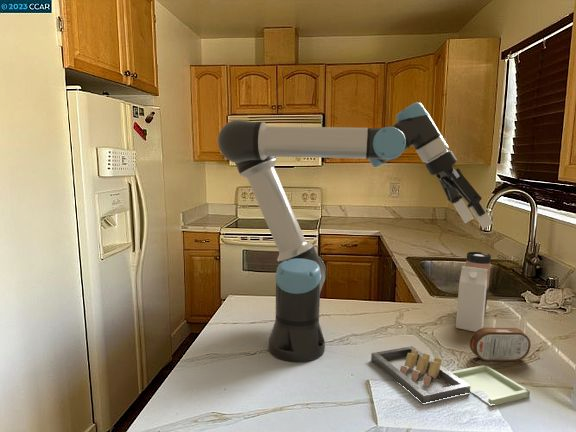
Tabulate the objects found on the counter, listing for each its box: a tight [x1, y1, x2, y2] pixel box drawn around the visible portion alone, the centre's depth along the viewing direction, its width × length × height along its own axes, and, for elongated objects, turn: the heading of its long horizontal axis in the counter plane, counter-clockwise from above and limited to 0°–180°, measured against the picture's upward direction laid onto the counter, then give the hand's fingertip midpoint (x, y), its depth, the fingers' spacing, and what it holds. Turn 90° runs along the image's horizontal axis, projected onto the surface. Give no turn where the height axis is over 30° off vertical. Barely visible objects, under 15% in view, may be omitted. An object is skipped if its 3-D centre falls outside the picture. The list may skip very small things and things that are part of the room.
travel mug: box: [465, 251, 492, 314], centre depth 138 cm, size 8×8×20 cm
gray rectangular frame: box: [370, 345, 471, 403], centre depth 95 cm, size 12×20×2 cm, turn 20°
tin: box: [469, 326, 532, 362], centre depth 103 cm, size 15×3×8 cm, turn 92°
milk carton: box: [455, 265, 487, 333], centre depth 123 cm, size 7×7×19 cm
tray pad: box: [450, 364, 531, 406], centre depth 91 cm, size 11×12×1 cm
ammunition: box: [399, 349, 443, 387], centre depth 95 cm, size 5×7×8 cm
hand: (478, 223), depth 108 cm, fingers open, 13 cm apart
